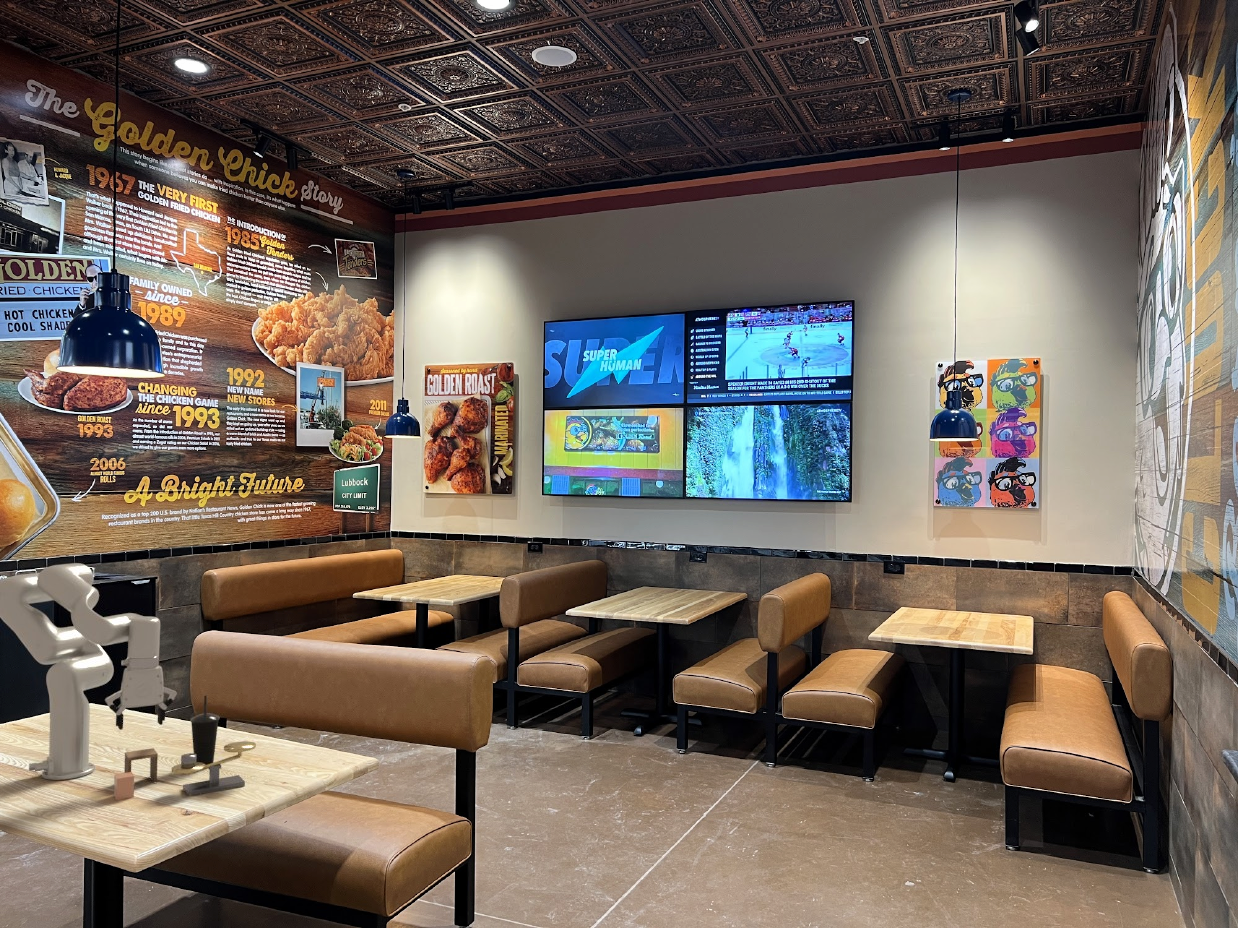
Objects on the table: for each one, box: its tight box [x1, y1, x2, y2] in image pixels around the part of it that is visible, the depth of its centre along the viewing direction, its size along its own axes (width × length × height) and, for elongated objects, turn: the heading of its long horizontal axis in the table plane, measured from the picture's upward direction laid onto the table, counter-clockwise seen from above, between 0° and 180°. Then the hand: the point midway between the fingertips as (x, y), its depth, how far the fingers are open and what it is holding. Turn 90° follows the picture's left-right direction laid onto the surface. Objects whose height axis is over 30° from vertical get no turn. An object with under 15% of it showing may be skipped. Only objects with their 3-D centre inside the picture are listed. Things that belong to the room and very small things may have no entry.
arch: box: [123, 747, 158, 783], centre depth 246 cm, size 7×6×8 cm
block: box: [113, 771, 135, 801], centre depth 235 cm, size 4×4×6 cm
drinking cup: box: [190, 695, 220, 765], centre depth 260 cm, size 8×8×20 cm
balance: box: [171, 740, 257, 797], centre depth 242 cm, size 21×8×10 cm, turn 127°
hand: (140, 725), depth 246 cm, fingers open, 9 cm apart
